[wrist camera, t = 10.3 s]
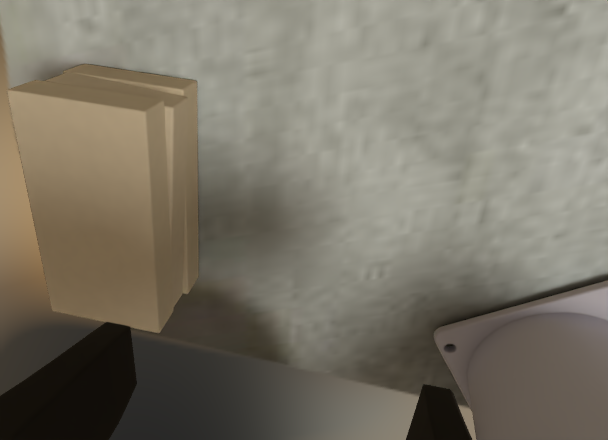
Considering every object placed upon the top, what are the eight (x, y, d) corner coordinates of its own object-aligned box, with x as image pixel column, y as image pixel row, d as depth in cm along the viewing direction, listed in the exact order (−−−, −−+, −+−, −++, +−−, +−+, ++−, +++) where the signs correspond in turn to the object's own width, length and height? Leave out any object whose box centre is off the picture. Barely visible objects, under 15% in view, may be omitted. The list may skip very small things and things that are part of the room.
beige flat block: (199, 276, 23) (187, 295, 21) (107, 258, 23) (91, 275, 22) (197, 80, 18) (183, 89, 17) (83, 63, 19) (61, 70, 17)
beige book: (183, 294, 22) (169, 314, 20) (86, 270, 22) (67, 289, 21) (189, 96, 17) (173, 107, 16) (67, 71, 17) (42, 80, 16)
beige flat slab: (174, 311, 20) (159, 334, 19) (71, 290, 21) (51, 311, 19) (165, 99, 16) (145, 111, 14) (34, 79, 16) (5, 89, 15)
